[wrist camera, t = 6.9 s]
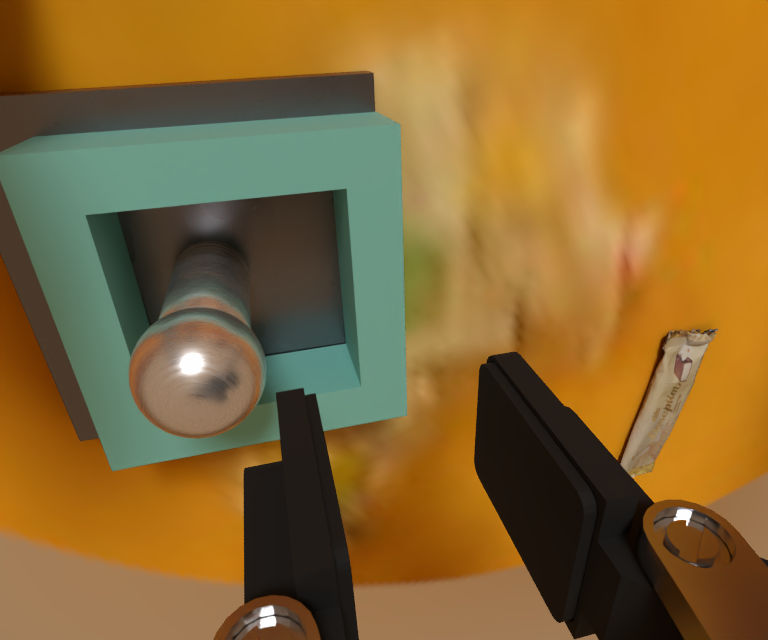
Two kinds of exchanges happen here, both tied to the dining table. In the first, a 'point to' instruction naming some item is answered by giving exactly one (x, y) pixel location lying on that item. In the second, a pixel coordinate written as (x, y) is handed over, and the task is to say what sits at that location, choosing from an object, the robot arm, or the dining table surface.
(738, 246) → the dining table surface
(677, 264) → the dining table surface
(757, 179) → the dining table surface
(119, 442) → the teal square frame
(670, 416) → the snack bar
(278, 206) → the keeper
